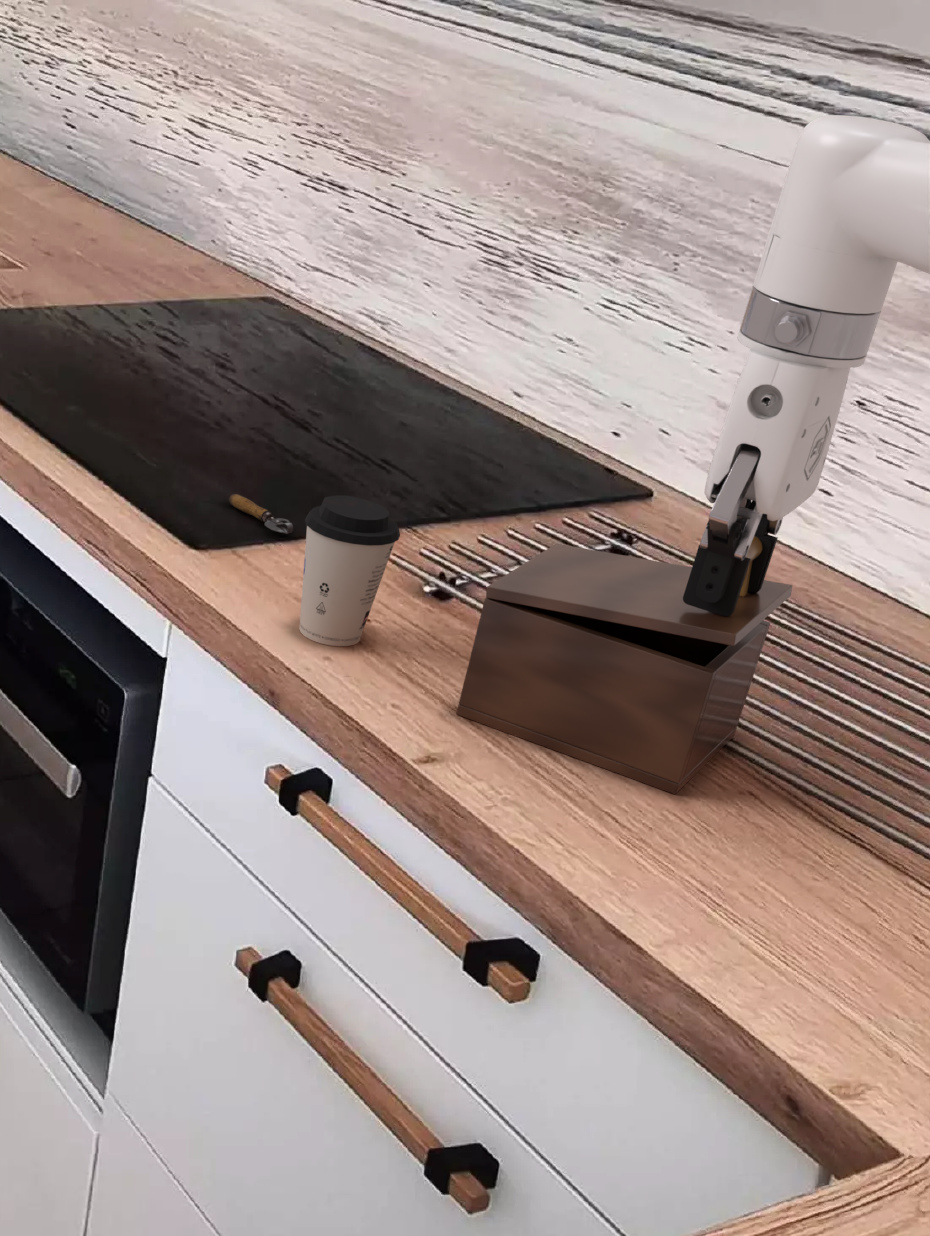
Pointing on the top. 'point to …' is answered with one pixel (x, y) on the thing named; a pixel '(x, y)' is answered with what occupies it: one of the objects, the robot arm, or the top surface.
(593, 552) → the caddy lid
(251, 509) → the can opener
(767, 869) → the top surface
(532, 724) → the box
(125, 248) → the top surface
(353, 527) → the coffee cup
